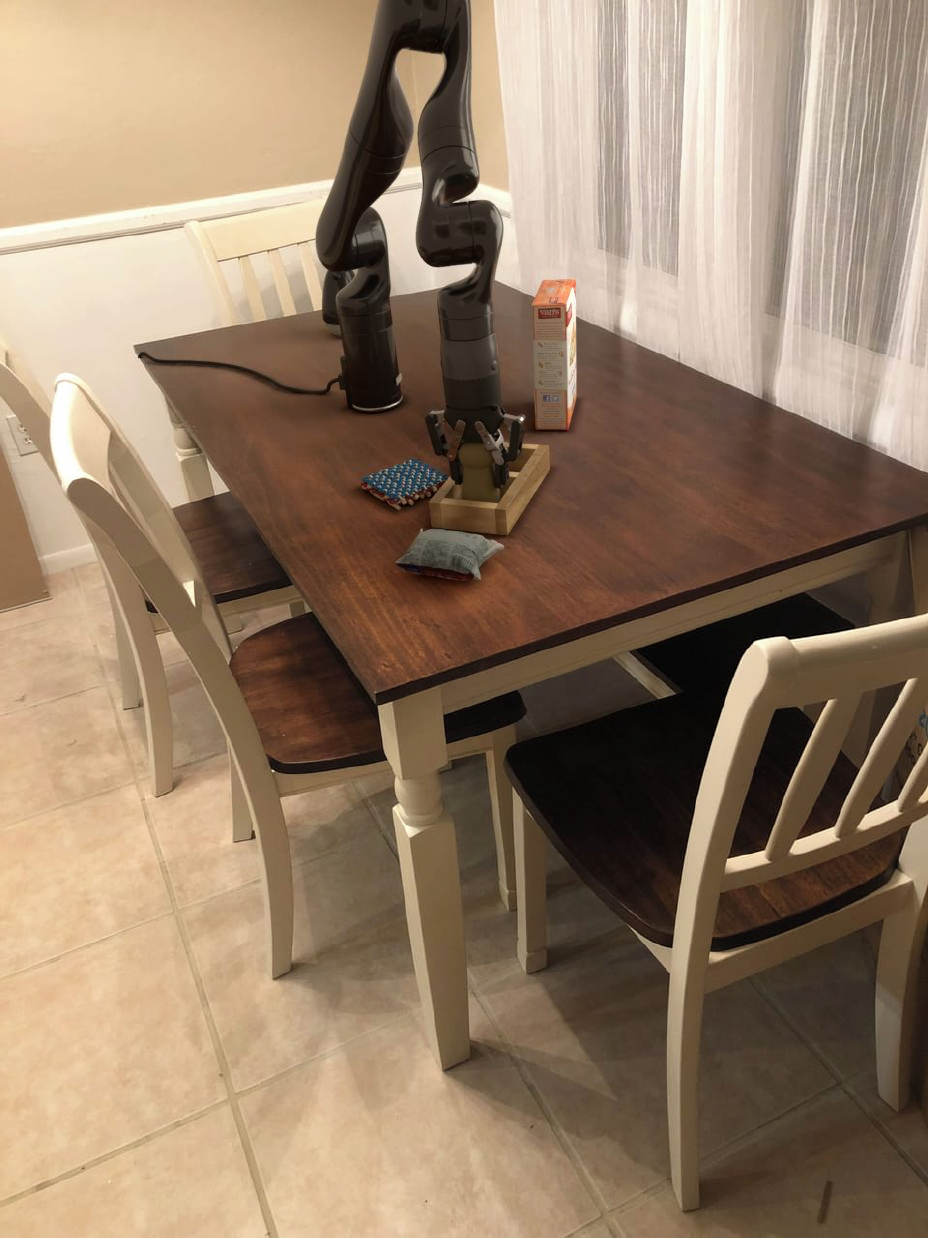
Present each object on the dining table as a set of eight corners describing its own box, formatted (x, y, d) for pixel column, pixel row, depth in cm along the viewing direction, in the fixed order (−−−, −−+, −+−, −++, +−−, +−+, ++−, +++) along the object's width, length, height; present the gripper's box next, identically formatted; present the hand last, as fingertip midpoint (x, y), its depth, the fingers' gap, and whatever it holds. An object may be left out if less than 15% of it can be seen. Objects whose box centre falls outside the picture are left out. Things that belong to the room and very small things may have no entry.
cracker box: (571, 431, 156) (567, 302, 144) (534, 431, 157) (528, 303, 146) (579, 399, 167) (577, 276, 156) (545, 399, 169) (540, 278, 157)
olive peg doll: (508, 504, 137) (504, 432, 131) (496, 524, 132) (491, 451, 126) (469, 501, 139) (462, 430, 133) (455, 520, 134) (448, 448, 128)
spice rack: (431, 527, 133) (428, 502, 131) (481, 463, 149) (479, 439, 147) (507, 535, 129) (505, 509, 127) (550, 469, 145) (549, 445, 143)
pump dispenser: (320, 342, 206) (308, 270, 198) (332, 326, 215) (320, 257, 206) (366, 340, 205) (355, 267, 196) (376, 325, 213) (366, 254, 205)
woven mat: (358, 489, 145) (356, 477, 144) (415, 467, 150) (414, 455, 149) (395, 512, 138) (393, 499, 137) (454, 488, 143) (453, 475, 141)
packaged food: (424, 546, 129) (420, 514, 126) (505, 558, 124) (503, 525, 122) (395, 579, 123) (390, 546, 120) (479, 594, 118) (476, 560, 115)
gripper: (532, 359, 124) (537, 476, 133) (430, 354, 129) (442, 468, 138) (514, 379, 118) (521, 501, 128) (408, 374, 123) (422, 492, 133)
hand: (480, 483), depth 133 cm, fingers open, 5 cm apart
